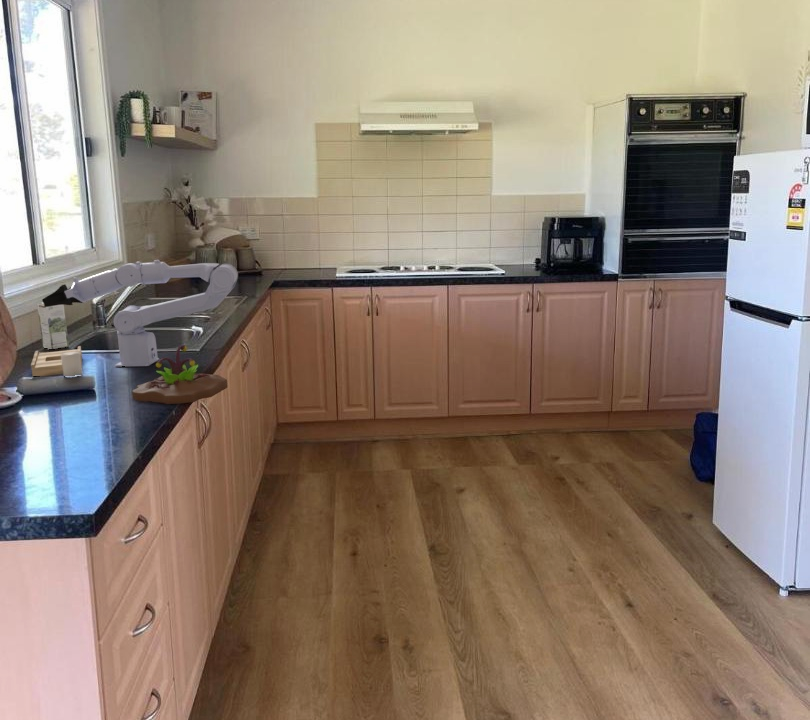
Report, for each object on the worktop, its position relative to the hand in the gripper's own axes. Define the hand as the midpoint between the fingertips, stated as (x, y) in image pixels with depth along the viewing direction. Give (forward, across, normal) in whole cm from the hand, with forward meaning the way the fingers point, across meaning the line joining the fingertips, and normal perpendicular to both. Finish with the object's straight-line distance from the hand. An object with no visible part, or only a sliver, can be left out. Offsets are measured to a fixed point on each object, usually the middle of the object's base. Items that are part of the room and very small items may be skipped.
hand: (49, 302), depth 207 cm
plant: (-32, +31, +32) cm, 55 cm away
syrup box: (+15, -32, +12) cm, 37 cm away
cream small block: (-2, +9, +20) cm, 22 cm away
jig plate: (+6, -4, +17) cm, 18 cm away
